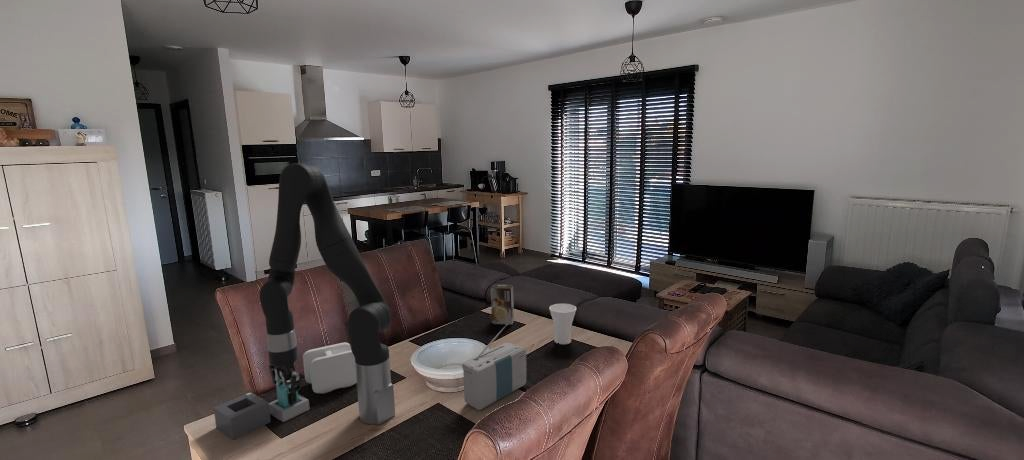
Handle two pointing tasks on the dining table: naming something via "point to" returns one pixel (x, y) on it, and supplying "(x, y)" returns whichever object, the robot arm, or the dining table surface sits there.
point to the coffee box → (502, 304)
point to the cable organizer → (330, 367)
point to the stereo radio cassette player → (494, 374)
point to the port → (242, 415)
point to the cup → (562, 321)
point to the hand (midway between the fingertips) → (288, 400)
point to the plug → (284, 396)
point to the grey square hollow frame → (289, 409)
